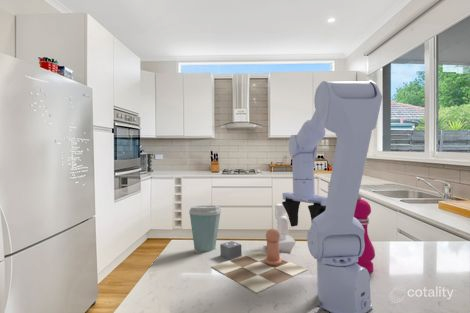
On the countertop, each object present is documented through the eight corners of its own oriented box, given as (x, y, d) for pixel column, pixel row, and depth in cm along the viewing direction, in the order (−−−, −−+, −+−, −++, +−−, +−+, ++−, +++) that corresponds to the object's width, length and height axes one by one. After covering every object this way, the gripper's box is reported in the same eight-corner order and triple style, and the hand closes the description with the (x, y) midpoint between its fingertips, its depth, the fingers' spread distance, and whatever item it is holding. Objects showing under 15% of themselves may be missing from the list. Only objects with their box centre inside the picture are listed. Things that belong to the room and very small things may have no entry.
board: (308, 273, 66) (308, 269, 66) (256, 298, 55) (256, 292, 55) (259, 254, 80) (259, 250, 81) (211, 270, 69) (211, 266, 69)
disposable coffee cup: (186, 248, 88) (185, 204, 88) (217, 243, 92) (216, 201, 92) (193, 259, 78) (192, 209, 78) (226, 253, 82) (225, 206, 82)
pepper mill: (379, 275, 64) (377, 195, 65) (348, 273, 66) (346, 195, 66) (370, 263, 72) (368, 191, 72) (342, 262, 73) (340, 191, 73)
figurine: (274, 256, 79) (272, 206, 79) (268, 245, 88) (267, 201, 89) (297, 254, 79) (296, 206, 80) (289, 244, 89) (287, 201, 89)
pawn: (284, 262, 71) (284, 229, 71) (273, 267, 68) (272, 232, 68) (273, 258, 74) (272, 226, 75) (262, 262, 72) (261, 228, 72)
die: (241, 259, 77) (241, 244, 77) (229, 263, 74) (229, 247, 74) (232, 255, 80) (232, 240, 81) (220, 259, 78) (220, 243, 78)
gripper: (274, 178, 75) (275, 225, 74) (315, 181, 63) (317, 237, 62) (291, 177, 79) (292, 221, 78) (333, 179, 67) (334, 232, 66)
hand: (304, 228), depth 71 cm, fingers open, 7 cm apart
